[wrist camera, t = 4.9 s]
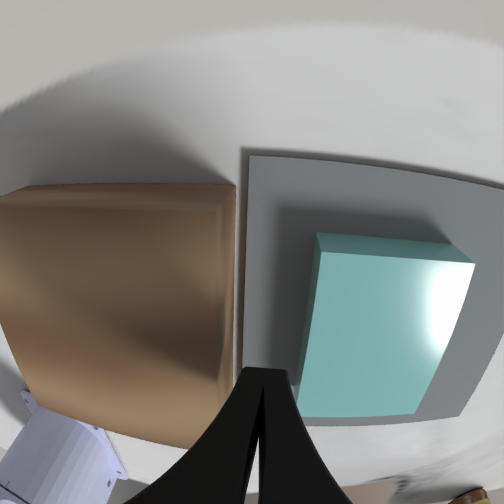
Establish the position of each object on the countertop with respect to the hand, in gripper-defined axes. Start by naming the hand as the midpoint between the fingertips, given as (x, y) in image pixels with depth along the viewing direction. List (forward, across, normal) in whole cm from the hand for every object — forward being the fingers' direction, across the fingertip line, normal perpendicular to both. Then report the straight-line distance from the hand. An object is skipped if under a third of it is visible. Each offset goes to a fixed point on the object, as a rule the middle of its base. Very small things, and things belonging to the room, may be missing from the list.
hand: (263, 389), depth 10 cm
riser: (+5, +7, 0) cm, 8 cm away
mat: (+5, -6, 0) cm, 7 cm away
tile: (+2, -4, 0) cm, 5 cm away
